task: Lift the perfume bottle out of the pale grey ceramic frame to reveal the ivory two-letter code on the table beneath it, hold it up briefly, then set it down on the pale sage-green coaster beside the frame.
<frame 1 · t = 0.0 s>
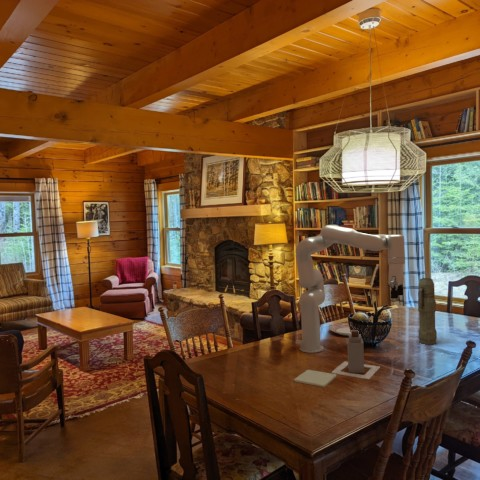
hand: (397, 296, 205), 31 cm above the table, fingers open, 9 cm apart
dinner plate: (352, 333, 262), on the table
perfume bottle: (356, 370, 198), on the table, touching code frame
code frame: (356, 370, 198), on the table
thermos: (427, 343, 235), on the table
sage coaster: (315, 378, 190), on the table
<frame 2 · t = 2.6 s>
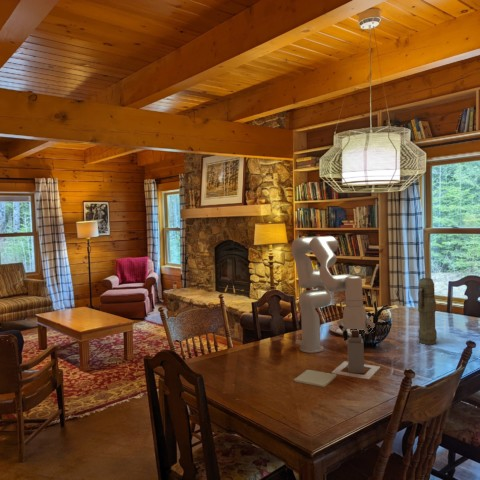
hand: (356, 341, 197), 14 cm above the table, fingers open, 9 cm apart
perfume bottle: (356, 370, 198), on the table, touching code frame, gripper
everything else where it was.
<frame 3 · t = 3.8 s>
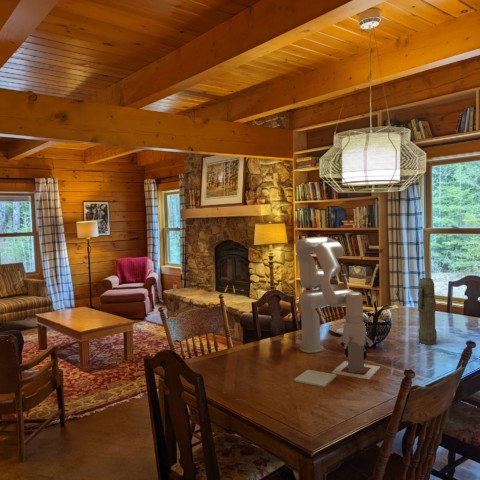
hand: (355, 357, 198), 6 cm above the table, fingers closed on perfume bottle, 6 cm apart
perfume bottle: (356, 370, 198), on the table, touching code frame, gripper
everything else where it was.
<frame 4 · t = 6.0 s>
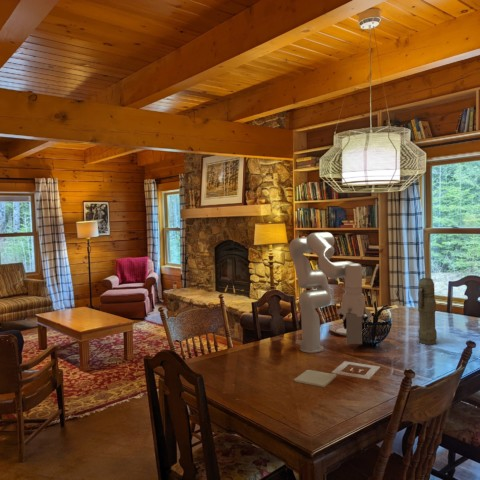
hand: (354, 329, 198), 19 cm above the table, fingers closed on perfume bottle, 6 cm apart
perfume bottle: (354, 341, 198), point 13 cm above the table, touching gripper
everything else where it was.
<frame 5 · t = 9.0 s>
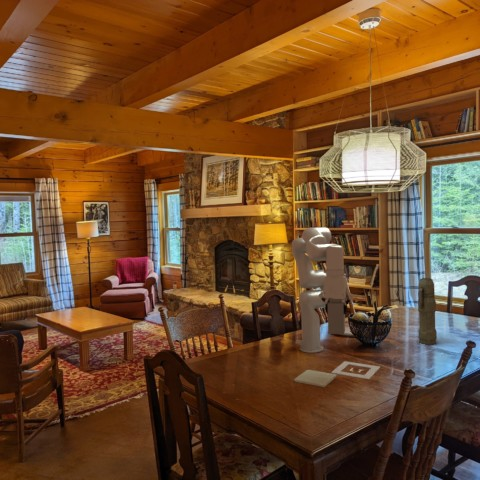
hand: (336, 312, 193), 28 cm above the table, fingers closed on perfume bottle, 6 cm apart
perfume bottle: (336, 332, 194), point 19 cm above the table, touching gripper
everything else where it was.
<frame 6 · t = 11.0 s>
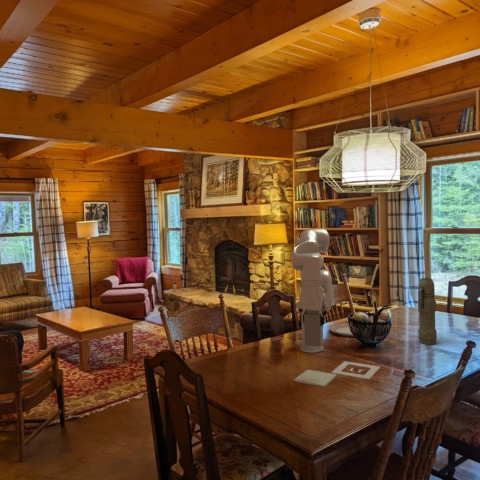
hand: (313, 324, 189), 24 cm above the table, fingers closed on perfume bottle, 6 cm apart
perfume bottle: (314, 344, 189), point 15 cm above the table, touching gripper
everything else where it was.
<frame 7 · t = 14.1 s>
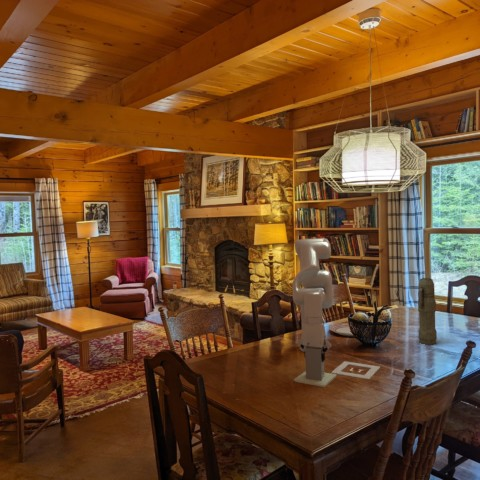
hand: (314, 360, 189), 8 cm above the table, fingers closed on perfume bottle, 6 cm apart
perfume bottle: (315, 377, 190), point 1 cm above the table, touching gripper, sage coaster
everything else where it was.
when the fingers open (8 cm above the table, at t = 14.2 s): perfume bottle stays where it is, resting on sage coaster.
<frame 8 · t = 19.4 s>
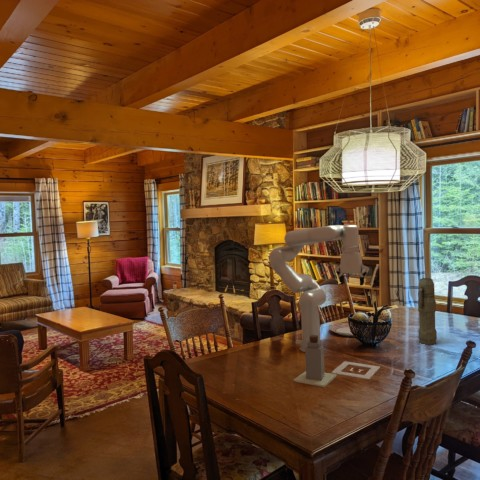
hand: (352, 284, 215), 36 cm above the table, fingers open, 9 cm apart
perfume bottle: (315, 377, 190), point 1 cm above the table, touching sage coaster
everything else where it was.
at the end: perfume bottle inside the target area on the sage coaster (0.1 cm from its centre), point 0.6 cm above the sage coaster's base; perfume bottle tilted 0°; the gripper is holding nothing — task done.
